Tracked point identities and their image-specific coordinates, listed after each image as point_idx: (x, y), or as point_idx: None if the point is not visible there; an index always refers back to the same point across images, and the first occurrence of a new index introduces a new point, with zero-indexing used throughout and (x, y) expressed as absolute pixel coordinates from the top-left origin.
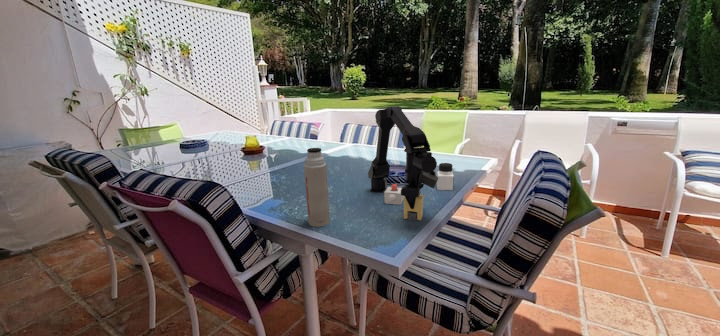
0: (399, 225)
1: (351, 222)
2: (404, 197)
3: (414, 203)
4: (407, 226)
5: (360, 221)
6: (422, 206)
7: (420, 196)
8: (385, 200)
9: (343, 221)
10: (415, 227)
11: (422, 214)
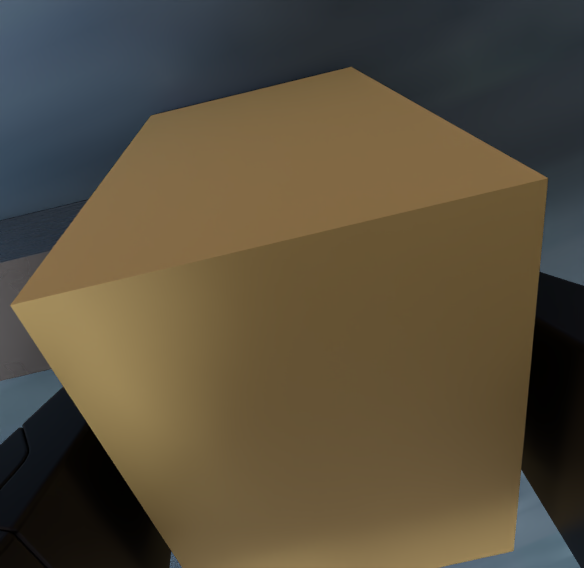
0: (550, 252)
1: (558, 533)
2: (496, 549)
3: (551, 281)
4: (561, 165)
5: (530, 508)
6: (205, 144)
7: (270, 310)
8: None
9: (551, 565)
10: (575, 58)
11: (187, 111)
